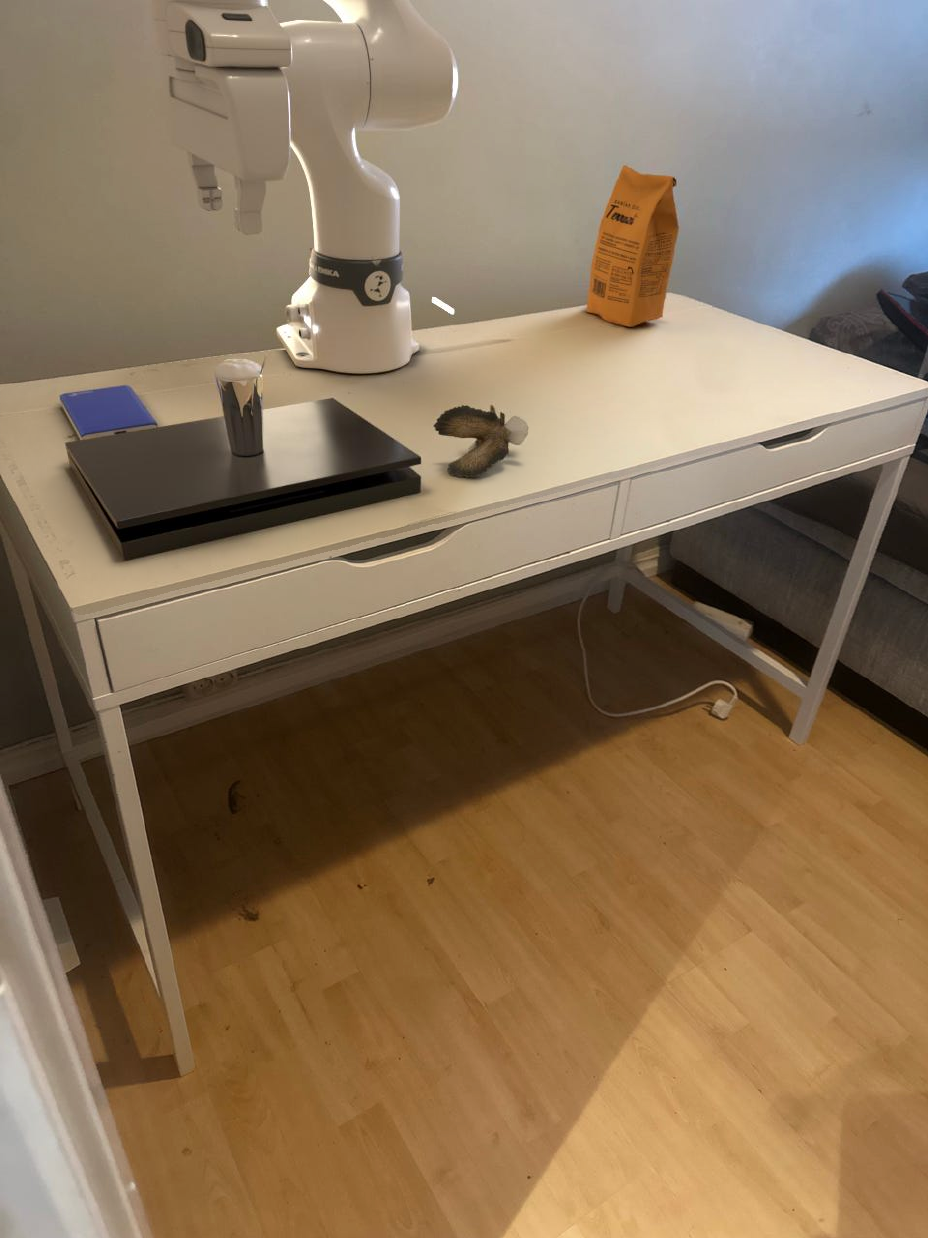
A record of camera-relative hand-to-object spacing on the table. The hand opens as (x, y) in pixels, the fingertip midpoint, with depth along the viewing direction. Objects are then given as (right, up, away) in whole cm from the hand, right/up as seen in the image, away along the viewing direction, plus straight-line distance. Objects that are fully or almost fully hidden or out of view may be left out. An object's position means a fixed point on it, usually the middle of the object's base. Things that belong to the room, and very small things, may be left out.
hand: (229, 220), depth 77 cm
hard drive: (-21, -12, +25) cm, 35 cm away
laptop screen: (-2, -18, +14) cm, 23 cm away
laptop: (-2, -20, +15) cm, 25 cm away
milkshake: (-1, -18, +13) cm, 22 cm away
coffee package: (+47, +15, +70) cm, 86 cm away
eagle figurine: (+22, -17, +21) cm, 35 cm away
